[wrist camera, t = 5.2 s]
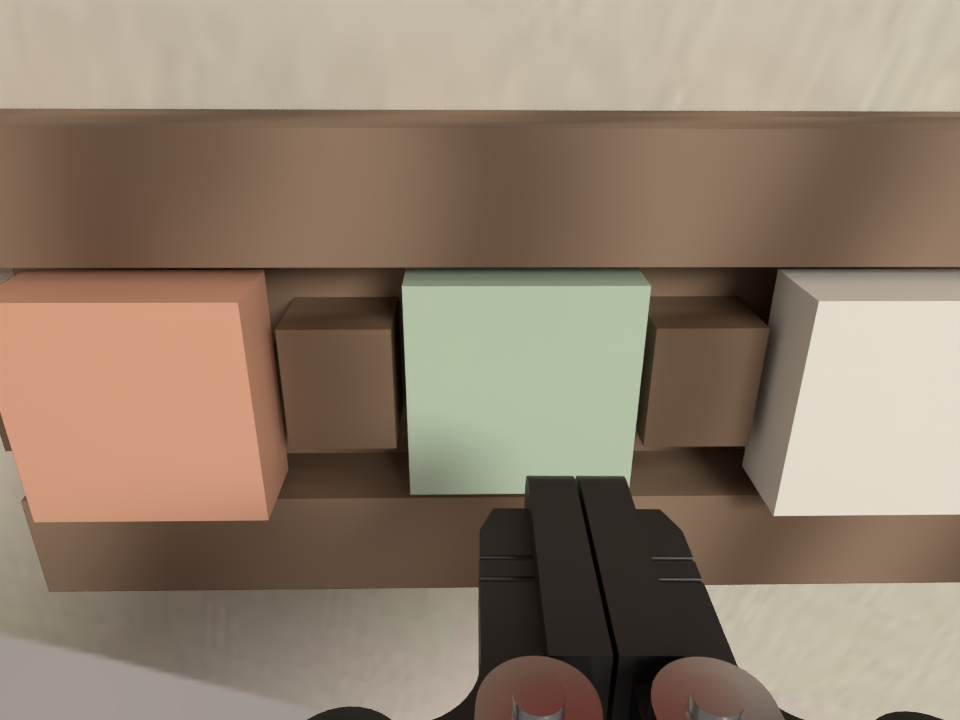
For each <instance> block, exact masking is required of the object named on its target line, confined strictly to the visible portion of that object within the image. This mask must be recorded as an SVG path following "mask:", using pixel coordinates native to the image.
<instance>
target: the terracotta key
mask: <svg viewBox="0 0 960 720" xmlns="http://www.w3.org/2000/svg"><path fill="white" fill-rule="evenodd" d="M0 413H1V416H2V419H3V422H4V426H5V429H6V432H7V435H8V439H9V442H10V445H11V449H12V452H13V455H14V458H15V462H16V465H17V468H18V471H19V475H20V478H21V481H22V484H23V488H24V491H25V494H26V497H27V501H28V504H29V507H30V511H31V514H32V517H33V520H34V522H135V521H252V520H269V518H270V515H271V513H272V510H273V508H274V505H275V503H276V500H277V497H278V495H279V492H280V490H281V487H282V485H283V482H284V479H285V477H286V474H287V472H288V461H287V453H286V444H285V436H284V428H283V420H282V412H281V404H280V396H279V388H278V379H277V371H276V363H275V355H274V347H273V339H272V331H271V323H270V315H269V306H268V298H267V290H266V282H265V274H264V270H24V271H23V272H21V273H19V274H17V275H16V276H14V277H12V278H10V279H9V280H7V281H5V282H3V283H2V284H0Z"/></svg>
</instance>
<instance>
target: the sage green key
mask: <svg viewBox="0 0 960 720" xmlns="http://www.w3.org/2000/svg"><path fill="white" fill-rule="evenodd" d="M650 292H651V285H650V284H649V282H648V281H647V279H646V278H645V276H644V275H643V274H642V272H641V271H640V269H639V268H638V267H406V270H405V275H404V279H403V283H402V303H403V327H404V351H405V375H406V399H407V423H408V448H409V472H410V495H428V494H525V482H526V476H574V478H576V476H624V477H625V478H626V481H627V483H628V486H630V477H631V467H632V458H633V449H634V440H635V431H636V421H637V412H638V403H639V394H640V385H641V375H642V366H643V357H644V348H645V339H646V329H647V320H648V311H649V302H650Z"/></svg>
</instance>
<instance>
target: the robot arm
mask: <svg viewBox="0 0 960 720" xmlns="http://www.w3.org/2000/svg"><path fill="white" fill-rule="evenodd" d="M478 621H479V676H478V679H477V682H476V684H475V686H474V688H473V690H472V691H471V692H470V694H469V695H468V696H467V698H466V699H465V700H464V701H463V702H462V703H461V704H460V705H458V706H457V707H456V708H454V709H453V710H452V711H450V712H448V713H446V714H445V715H443V716H441V717H439V718H436V719H433V720H803V719H800V718H798V717H795V716H793V715H791V714H789V713H787V712H785V711H783V710H781V709H780V708H778V706H777V704H776V702H775V700H774V699H773V697H772V696H771V694H770V693H769V692H768V690H767V689H766V688H765V687H764V686H763V685H762V684H761V683H760V682H759V681H758V680H757V679H756V678H755V677H753V676H752V675H750V674H749V673H747V672H746V671H744V670H743V669H741V668H739V667H738V666H737V664H736V661H735V659H734V656H733V654H732V652H731V649H730V647H729V644H728V642H727V639H726V637H725V634H724V632H723V629H722V627H721V624H720V622H719V620H718V617H717V615H716V612H715V610H714V607H713V605H712V602H711V600H710V597H709V595H708V592H707V590H706V588H705V585H704V583H702V582H701V575H700V573H699V570H698V568H697V565H696V563H695V561H693V555H692V553H691V551H690V548H689V546H688V543H687V541H686V538H685V536H684V533H683V531H682V530H681V529H680V528H679V527H678V526H677V525H676V524H675V523H674V522H673V521H672V520H671V519H670V518H669V517H668V516H667V515H666V514H664V513H663V512H662V511H661V510H660V509H636V508H635V505H634V502H633V499H632V496H631V492H630V489H629V486H628V483H627V481H626V478H625V477H624V476H576V478H574V476H526V482H525V500H524V508H493V509H492V511H491V513H490V514H489V516H488V517H487V519H486V520H485V522H484V524H483V525H482V527H481V528H480V537H479V603H478ZM308 720H391V719H390V718H388V717H387V716H385V715H383V714H382V713H379V712H377V711H374V710H372V709H367V708H362V707H341V708H335V709H331V710H327V711H325V712H322V713H319V714H317V715H315V716H313V717H311V718H310V719H308ZM876 720H942V719H939V718H937V717H934V716H931V715H927V714H922V713H917V712H907V711H905V712H893V713H889V714H885V715H883V716H881V717H879V718H878V719H876Z"/></svg>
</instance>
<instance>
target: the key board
mask: <svg viewBox="0 0 960 720" xmlns="http://www.w3.org/2000/svg"><path fill="white" fill-rule="evenodd" d="M406 267H638V268H639V269H640V271H641V272H642V274H643V275H644V276H645V278H646V279H647V281H648V282H649V284H650V285H651V292H650V302H649V311H648V320H647V329H646V339H645V348H644V357H643V366H642V375H641V385H640V394H639V403H638V412H637V421H636V431H635V440H634V449H633V458H632V467H631V477H630V486H629V489H630V492H631V496H632V499H633V502H634V505H635V508H636V509H660V510H661V511H662V512H663V513H664V514H666V515H667V516H668V517H669V518H670V519H671V520H672V521H673V522H674V523H675V524H676V525H677V526H678V527H679V528H680V529H681V530H682V531H683V533H684V536H685V538H686V541H687V543H688V546H689V548H690V551H691V553H692V555H693V561H695V563H696V565H697V568H698V570H699V573H700V575H701V582H702V583H704V585H743V584H838V583H934V582H960V515H842V516H773V514H772V513H771V511H770V510H769V508H768V506H767V505H766V503H765V502H764V500H763V499H762V497H761V495H760V494H759V492H758V491H757V489H756V487H755V486H754V484H753V483H752V481H751V479H750V478H749V476H748V475H747V473H746V471H745V470H744V468H743V467H742V463H743V458H744V452H745V447H746V446H748V445H749V439H750V434H751V429H752V423H753V418H754V412H755V407H756V401H757V396H758V391H759V385H760V380H761V374H762V369H763V364H764V358H765V353H766V347H767V342H768V337H769V331H770V328H769V327H768V321H769V316H770V310H771V305H772V300H773V294H774V289H775V283H776V278H777V272H778V269H960V112H843V111H536V110H228V109H0V268H13V270H14V274H15V276H16V275H17V274H19V273H21V272H23V271H24V270H264V274H265V282H266V290H267V298H268V306H269V315H270V323H271V331H272V339H273V347H274V355H275V363H276V371H277V379H278V388H279V396H280V404H281V412H282V420H283V428H284V436H285V444H286V453H287V461H288V472H287V474H286V477H285V479H284V482H283V485H282V487H281V490H280V492H279V495H278V497H277V500H276V503H275V505H274V508H273V510H272V513H271V515H270V518H269V520H252V521H135V522H34V520H33V517H32V514H31V511H30V507H29V504H28V501H27V497H26V496H25V497H24V498H23V499H22V501H21V503H22V506H23V509H24V512H25V515H26V519H27V522H28V525H29V528H30V531H31V535H32V538H33V541H34V544H35V548H36V551H37V554H38V557H39V560H40V564H41V567H42V570H43V573H44V577H45V580H46V583H47V586H48V589H49V592H73V591H169V590H264V589H360V588H456V587H479V537H480V528H481V527H482V525H483V524H484V522H485V520H486V519H487V517H488V516H489V514H490V513H491V511H492V509H493V508H524V500H525V494H428V495H410V472H409V448H408V423H407V399H406V375H405V351H404V327H403V303H402V283H403V279H404V275H405V270H406ZM0 435H1V438H2V441H3V445H4V448H5V451H12V449H11V445H10V442H9V439H8V435H7V432H6V429H5V426H4V422H3V419H2V416H1V413H0Z"/></svg>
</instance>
